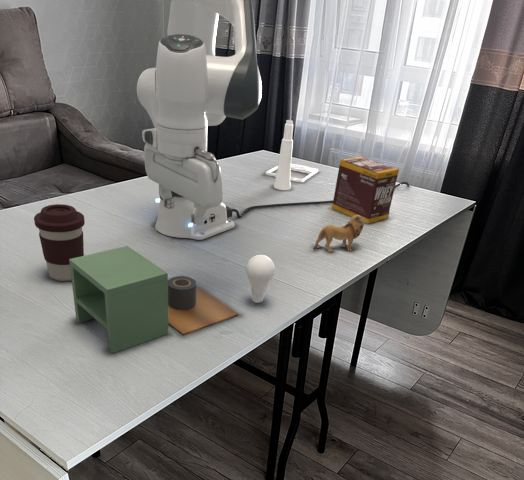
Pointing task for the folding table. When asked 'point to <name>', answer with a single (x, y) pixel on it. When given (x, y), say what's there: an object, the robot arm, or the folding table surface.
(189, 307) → the tape roll
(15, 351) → the folding table surface
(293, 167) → the photo frame
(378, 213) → the supplement box
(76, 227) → the coffee cup
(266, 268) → the lightbulb
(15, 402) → the folding table surface
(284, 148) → the white tapered tower
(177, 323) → the copper sheet
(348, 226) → the lion figurine
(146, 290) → the shelf
